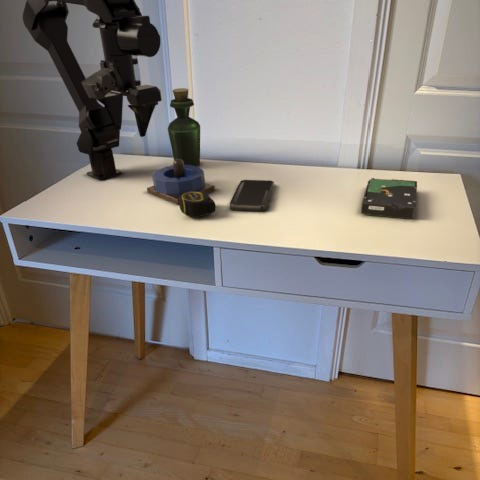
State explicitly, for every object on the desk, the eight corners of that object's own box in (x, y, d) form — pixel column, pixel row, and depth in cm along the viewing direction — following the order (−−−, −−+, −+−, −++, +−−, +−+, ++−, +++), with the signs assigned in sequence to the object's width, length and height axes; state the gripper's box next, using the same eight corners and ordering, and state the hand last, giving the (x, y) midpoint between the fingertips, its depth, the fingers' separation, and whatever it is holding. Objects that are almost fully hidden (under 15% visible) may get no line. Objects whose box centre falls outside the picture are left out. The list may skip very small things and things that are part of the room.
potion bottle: (205, 168, 125) (200, 91, 114) (173, 172, 123) (165, 94, 113) (200, 159, 131) (194, 85, 121) (170, 162, 130) (161, 88, 119)
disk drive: (414, 221, 96) (415, 192, 108) (416, 207, 95) (417, 179, 106) (360, 216, 99) (366, 188, 110) (361, 202, 97) (368, 176, 108)
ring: (144, 188, 111) (142, 175, 110) (179, 174, 118) (177, 161, 117) (179, 198, 106) (178, 185, 104) (214, 183, 113) (213, 170, 111)
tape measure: (217, 217, 100) (216, 199, 98) (184, 222, 99) (182, 204, 96) (208, 205, 105) (207, 188, 103) (177, 209, 104) (175, 192, 102)
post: (147, 192, 112) (142, 159, 108) (184, 179, 119) (181, 148, 114) (178, 205, 106) (174, 170, 102) (215, 190, 112) (213, 157, 108)
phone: (228, 204, 102) (241, 179, 114) (229, 209, 103) (241, 184, 115) (266, 206, 101) (275, 180, 113) (266, 211, 101) (275, 185, 113)
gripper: (59, 55, 101) (76, 133, 110) (109, 63, 90) (124, 149, 99) (105, 48, 108) (118, 123, 117) (158, 55, 97) (167, 137, 106)
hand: (130, 132), depth 109 cm, fingers open, 9 cm apart
